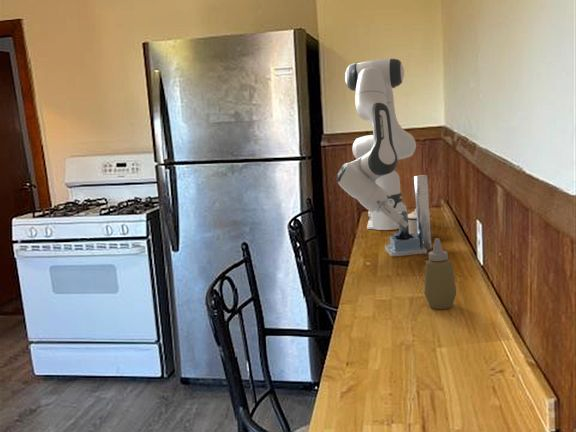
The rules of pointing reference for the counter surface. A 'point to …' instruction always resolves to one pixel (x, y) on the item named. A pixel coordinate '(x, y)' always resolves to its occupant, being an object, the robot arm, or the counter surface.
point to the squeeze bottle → (439, 279)
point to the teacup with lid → (413, 223)
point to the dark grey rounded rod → (404, 230)
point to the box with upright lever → (423, 225)
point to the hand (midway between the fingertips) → (405, 224)
